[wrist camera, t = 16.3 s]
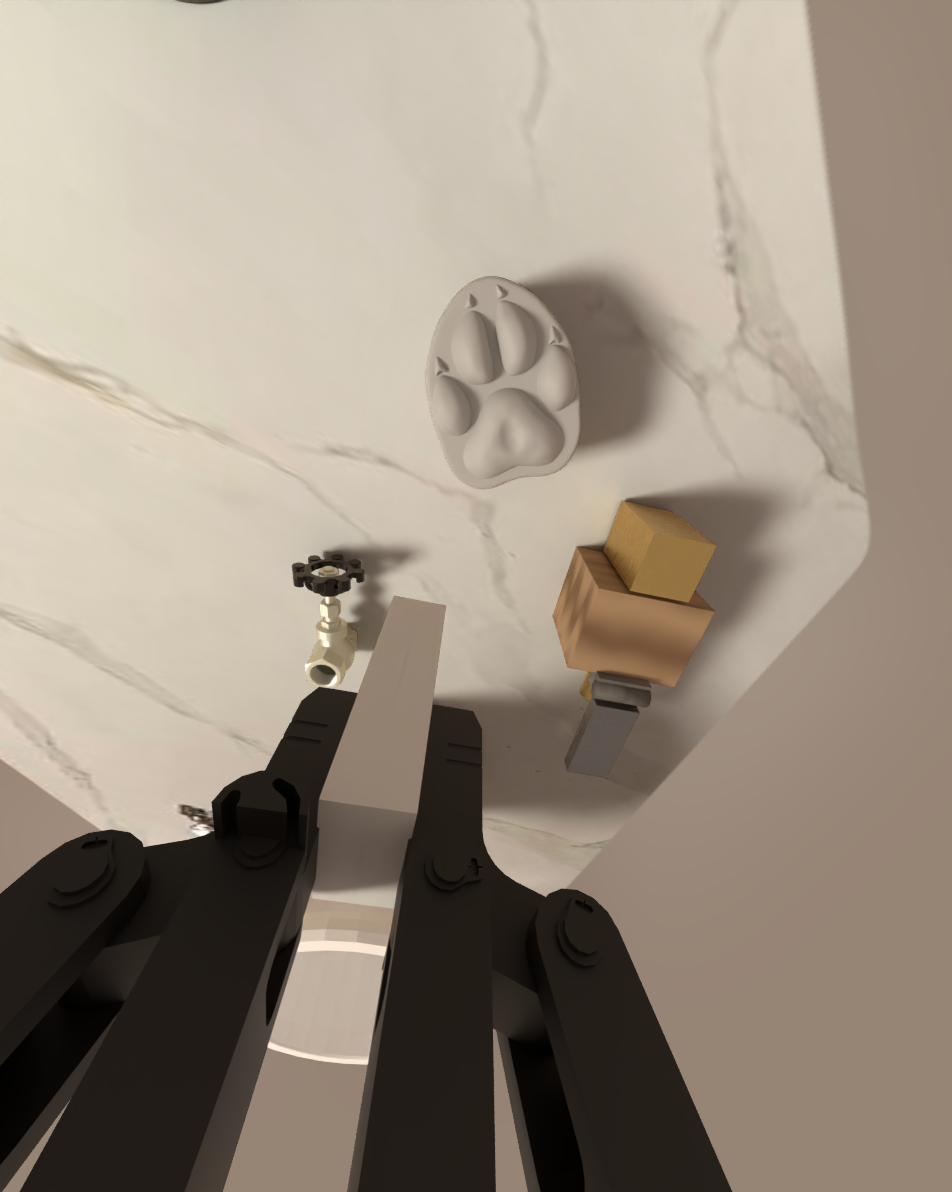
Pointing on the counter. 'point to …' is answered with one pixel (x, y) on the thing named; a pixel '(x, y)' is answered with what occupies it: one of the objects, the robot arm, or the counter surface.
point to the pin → (655, 555)
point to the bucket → (334, 983)
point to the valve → (329, 617)
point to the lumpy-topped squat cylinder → (502, 385)
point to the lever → (600, 737)
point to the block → (624, 631)
